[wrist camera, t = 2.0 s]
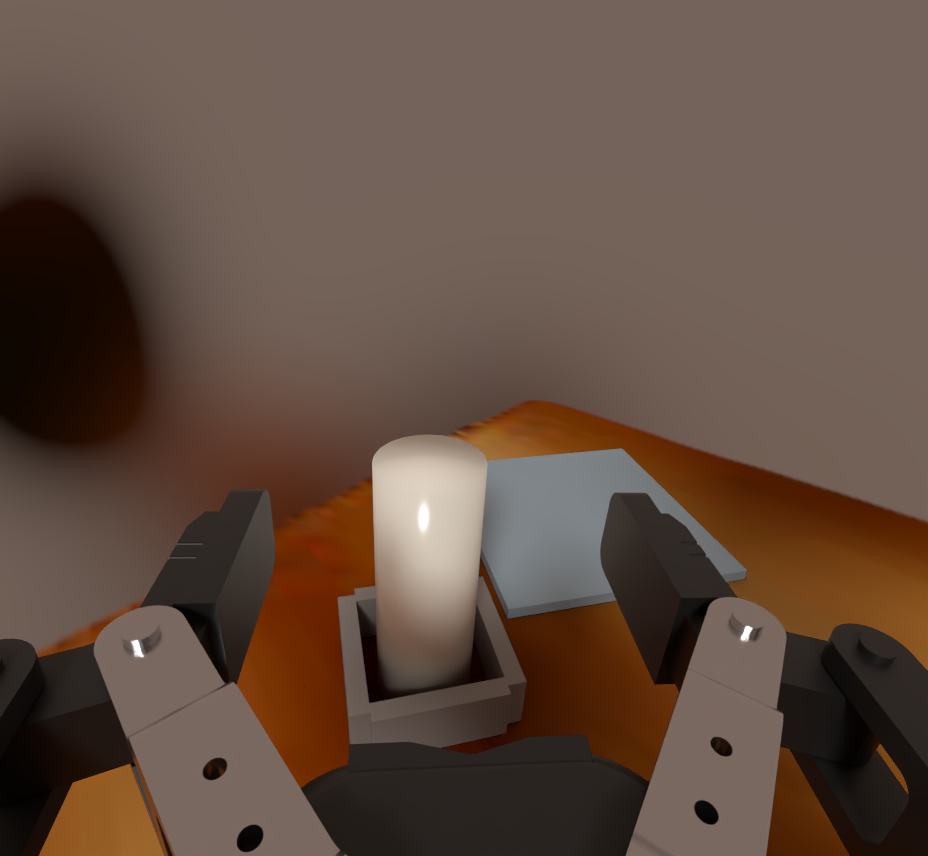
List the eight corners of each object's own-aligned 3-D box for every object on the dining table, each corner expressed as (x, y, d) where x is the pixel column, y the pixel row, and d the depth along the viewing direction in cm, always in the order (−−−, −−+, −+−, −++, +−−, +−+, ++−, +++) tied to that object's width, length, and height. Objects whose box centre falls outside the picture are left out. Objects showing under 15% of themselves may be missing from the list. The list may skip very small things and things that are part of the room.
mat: (620, 455, 56) (622, 448, 55) (744, 579, 40) (747, 570, 40) (443, 472, 51) (444, 464, 51) (507, 618, 36) (508, 609, 35)
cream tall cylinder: (457, 632, 35) (470, 431, 28) (481, 706, 30) (502, 487, 24) (372, 646, 33) (366, 439, 27) (384, 725, 29) (380, 499, 23)
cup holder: (477, 606, 37) (480, 570, 35) (524, 729, 29) (530, 690, 28) (339, 628, 34) (337, 591, 33) (352, 767, 27) (349, 726, 26)
